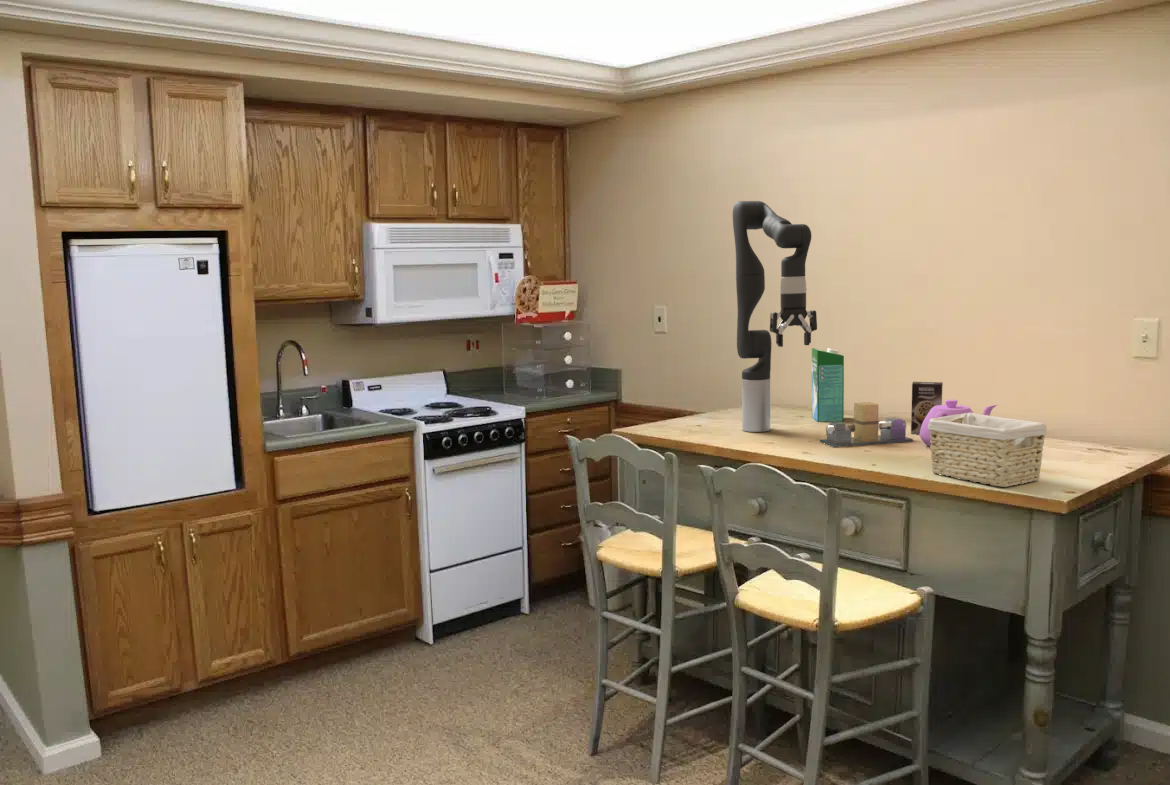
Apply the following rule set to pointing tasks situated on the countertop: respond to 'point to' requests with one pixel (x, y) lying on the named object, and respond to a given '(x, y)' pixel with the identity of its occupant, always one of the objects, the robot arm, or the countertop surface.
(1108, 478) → the countertop surface
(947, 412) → the teapot
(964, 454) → the storage basket
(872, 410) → the block
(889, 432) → the shaft bench
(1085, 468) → the countertop surface
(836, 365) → the milk carton
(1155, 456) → the countertop surface
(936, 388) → the coffee box
